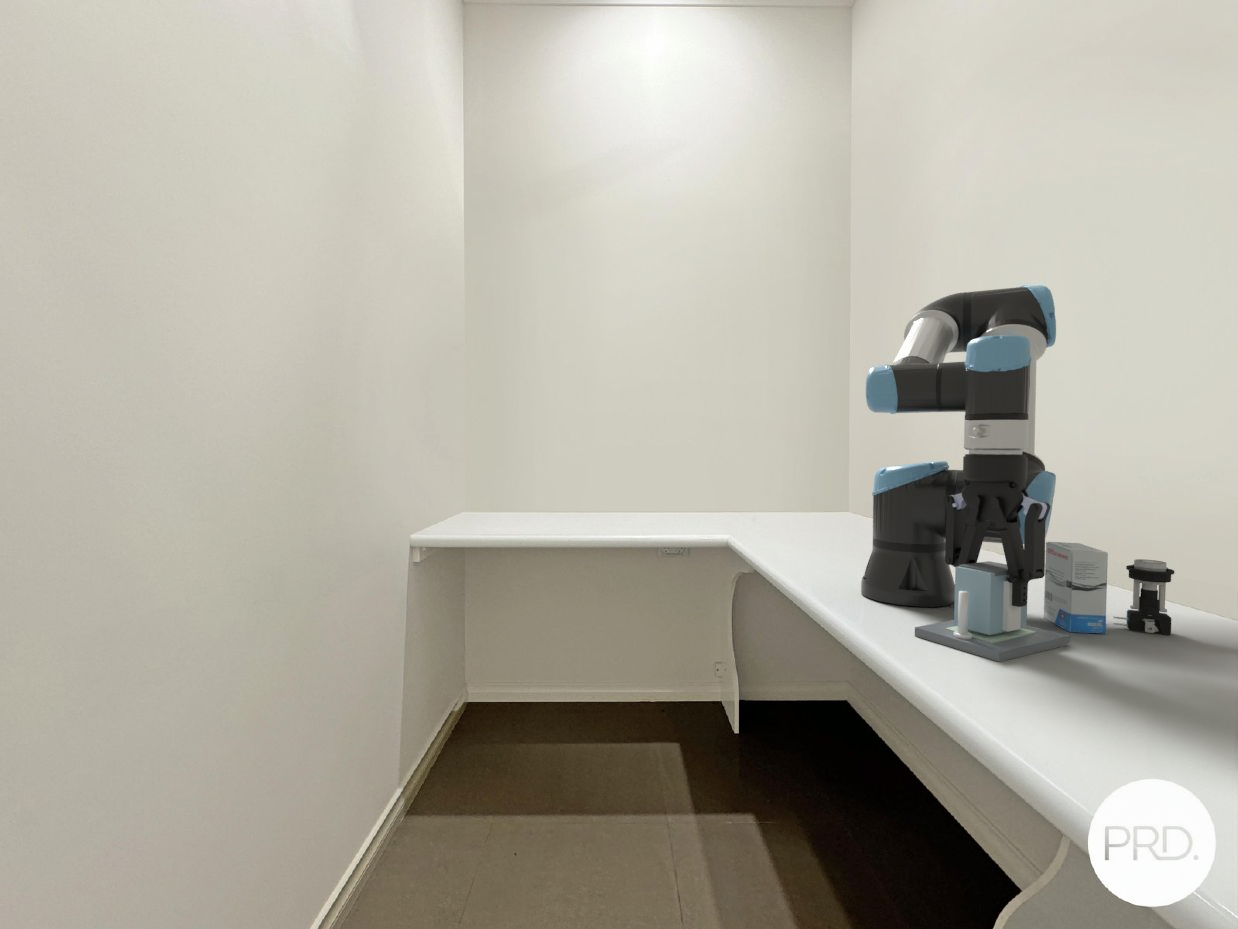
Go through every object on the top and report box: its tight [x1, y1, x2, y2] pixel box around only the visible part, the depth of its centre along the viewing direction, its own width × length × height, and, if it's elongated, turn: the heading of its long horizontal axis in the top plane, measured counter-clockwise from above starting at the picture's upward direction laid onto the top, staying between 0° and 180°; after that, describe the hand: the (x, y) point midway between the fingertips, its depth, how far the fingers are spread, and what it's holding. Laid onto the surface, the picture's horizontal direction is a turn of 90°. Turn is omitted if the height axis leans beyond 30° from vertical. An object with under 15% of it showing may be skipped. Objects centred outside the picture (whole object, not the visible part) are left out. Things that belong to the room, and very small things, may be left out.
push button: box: [1112, 558, 1175, 636], centre depth 94 cm, size 7×5×10 cm
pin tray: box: [914, 591, 1070, 663], centre depth 89 cm, size 12×15×7 cm
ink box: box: [1043, 541, 1109, 635], centre depth 97 cm, size 8×5×12 cm, turn 168°
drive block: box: [953, 560, 1029, 635], centre depth 89 cm, size 5×8×8 cm, turn 117°
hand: (990, 623), depth 89 cm, fingers closed on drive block, 5 cm apart
